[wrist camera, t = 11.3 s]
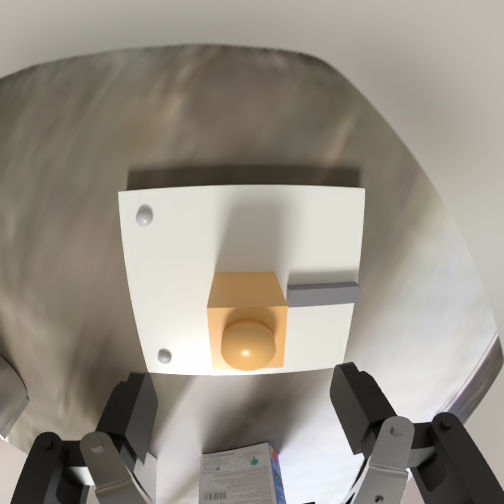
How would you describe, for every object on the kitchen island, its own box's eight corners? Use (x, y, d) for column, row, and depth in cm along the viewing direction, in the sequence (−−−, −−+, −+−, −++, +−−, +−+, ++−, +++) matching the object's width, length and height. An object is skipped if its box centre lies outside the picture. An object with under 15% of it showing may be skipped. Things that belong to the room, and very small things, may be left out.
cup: (181, 469, 30) (172, 560, 13) (133, 471, 30) (116, 549, 14) (134, 431, 27) (105, 538, 10) (87, 434, 27) (55, 519, 11)
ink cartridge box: (216, 469, 30) (215, 549, 16) (198, 453, 28) (192, 542, 14) (281, 457, 29) (295, 542, 16) (268, 440, 28) (281, 538, 14)
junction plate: (337, 357, 24) (356, 394, 19) (152, 362, 23) (137, 401, 18) (356, 187, 20) (392, 193, 15) (126, 190, 19) (92, 197, 14)
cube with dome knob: (274, 271, 20) (291, 314, 14) (272, 323, 21) (285, 377, 15) (214, 272, 20) (204, 316, 13) (216, 324, 21) (211, 379, 15)
